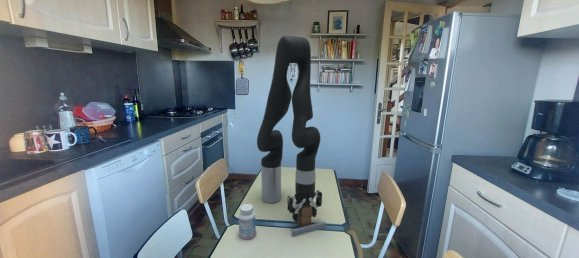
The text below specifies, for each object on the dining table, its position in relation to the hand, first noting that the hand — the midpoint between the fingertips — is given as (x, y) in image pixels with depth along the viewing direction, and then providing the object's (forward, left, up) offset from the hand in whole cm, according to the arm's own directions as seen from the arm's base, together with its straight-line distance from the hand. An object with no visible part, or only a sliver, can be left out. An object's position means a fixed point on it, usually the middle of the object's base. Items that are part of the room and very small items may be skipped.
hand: (304, 218), depth 96 cm
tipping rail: (+4, 0, -3) cm, 5 cm away
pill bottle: (-3, -22, -3) cm, 22 cm away
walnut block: (0, 0, -3) cm, 3 cm away
